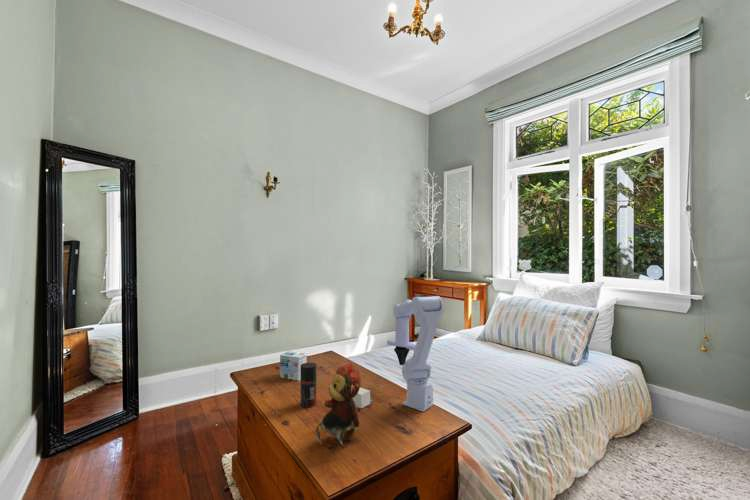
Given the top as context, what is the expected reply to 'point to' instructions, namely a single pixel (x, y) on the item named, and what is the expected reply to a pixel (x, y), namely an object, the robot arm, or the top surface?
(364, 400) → the block
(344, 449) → the top surface
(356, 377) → the stuffed monkey
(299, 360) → the light bulb box
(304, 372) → the deodorant
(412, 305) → the robot arm
